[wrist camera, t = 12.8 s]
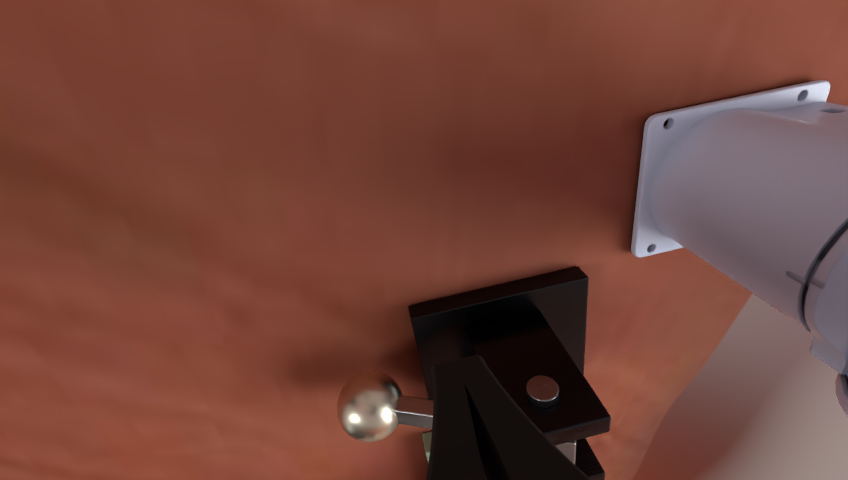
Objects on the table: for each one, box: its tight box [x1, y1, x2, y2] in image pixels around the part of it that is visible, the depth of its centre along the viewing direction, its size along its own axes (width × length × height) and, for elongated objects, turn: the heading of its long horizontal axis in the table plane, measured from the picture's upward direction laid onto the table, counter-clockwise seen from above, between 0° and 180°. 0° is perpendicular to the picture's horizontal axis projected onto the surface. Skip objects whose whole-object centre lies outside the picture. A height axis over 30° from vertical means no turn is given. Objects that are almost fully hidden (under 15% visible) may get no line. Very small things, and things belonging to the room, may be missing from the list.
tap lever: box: [337, 371, 576, 464], centre depth 21 cm, size 12×4×4 cm, turn 99°
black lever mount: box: [408, 267, 611, 480], centre depth 21 cm, size 10×8×8 cm
